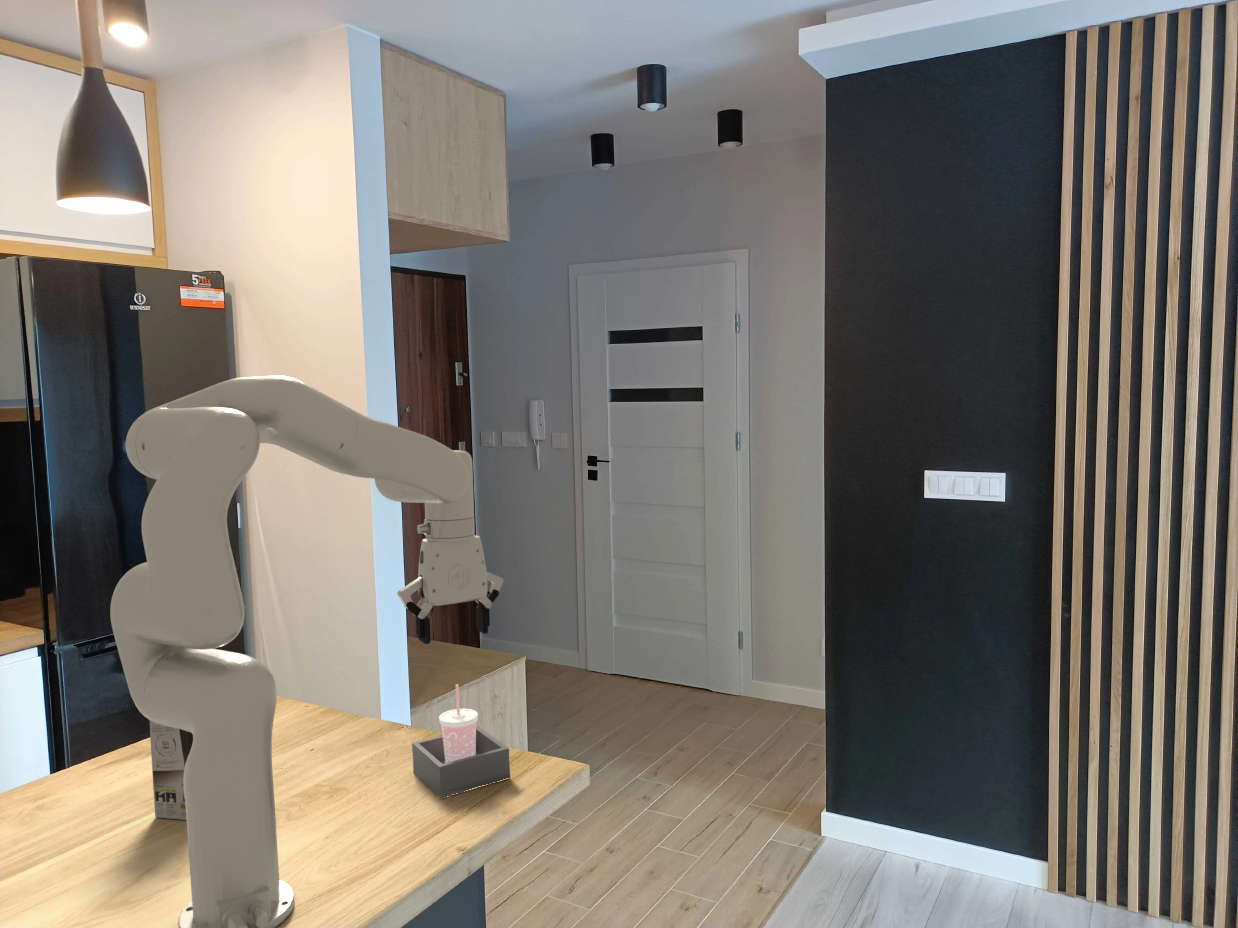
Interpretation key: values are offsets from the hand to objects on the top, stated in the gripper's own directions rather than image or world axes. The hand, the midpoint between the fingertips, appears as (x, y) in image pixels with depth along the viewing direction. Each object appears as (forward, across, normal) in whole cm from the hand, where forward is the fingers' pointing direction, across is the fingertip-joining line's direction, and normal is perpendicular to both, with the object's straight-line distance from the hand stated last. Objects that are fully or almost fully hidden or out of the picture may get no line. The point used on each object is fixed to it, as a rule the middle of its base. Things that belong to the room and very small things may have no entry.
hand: (453, 636), depth 139 cm
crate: (+23, 0, 0) cm, 23 cm away
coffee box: (+23, -36, +15) cm, 46 cm away
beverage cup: (+22, 0, 0) cm, 22 cm away
